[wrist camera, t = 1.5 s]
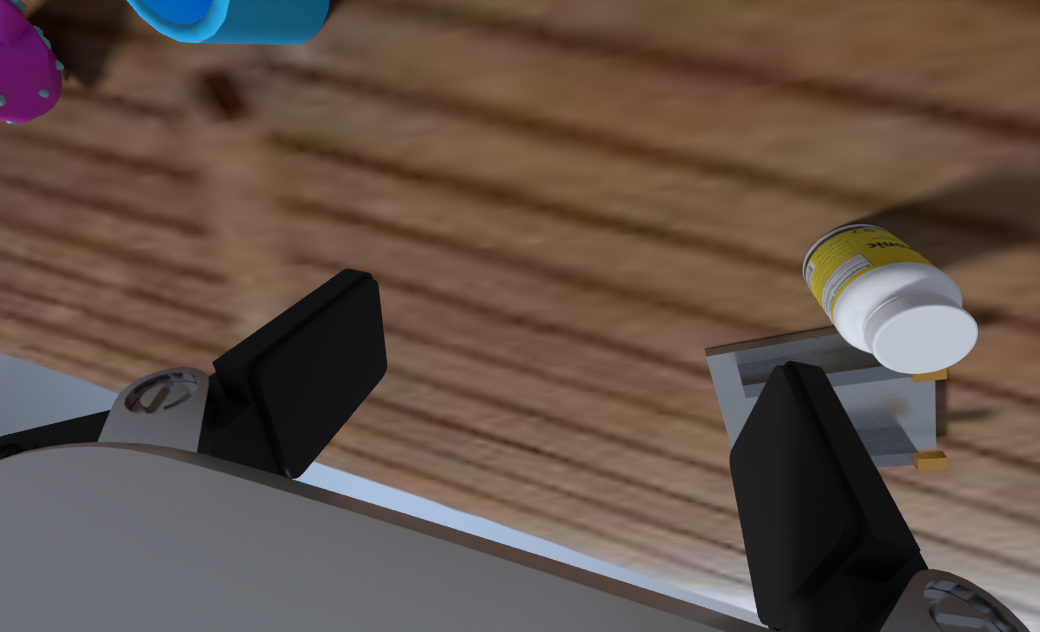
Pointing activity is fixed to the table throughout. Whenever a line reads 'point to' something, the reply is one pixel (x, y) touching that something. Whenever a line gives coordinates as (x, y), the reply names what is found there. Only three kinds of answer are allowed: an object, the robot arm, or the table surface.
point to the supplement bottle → (889, 299)
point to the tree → (25, 67)
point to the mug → (235, 20)
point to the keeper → (838, 392)
